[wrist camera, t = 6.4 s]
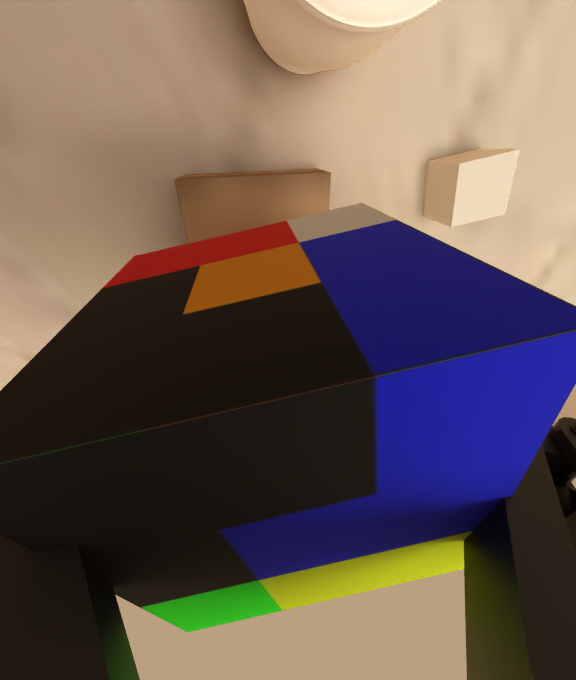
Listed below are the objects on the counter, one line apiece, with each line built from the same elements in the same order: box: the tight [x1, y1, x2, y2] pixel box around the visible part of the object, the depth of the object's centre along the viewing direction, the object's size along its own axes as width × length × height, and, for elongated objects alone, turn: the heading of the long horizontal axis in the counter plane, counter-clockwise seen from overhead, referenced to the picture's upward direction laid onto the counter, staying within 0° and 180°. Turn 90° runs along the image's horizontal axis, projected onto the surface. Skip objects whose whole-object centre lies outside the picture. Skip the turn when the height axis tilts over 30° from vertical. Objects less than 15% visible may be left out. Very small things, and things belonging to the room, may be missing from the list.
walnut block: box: [175, 169, 331, 243], centre depth 27 cm, size 12×12×5 cm
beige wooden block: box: [423, 149, 520, 227], centre depth 26 cm, size 5×5×5 cm
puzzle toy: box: [0, 203, 576, 632], centre depth 11 cm, size 10×10×10 cm
